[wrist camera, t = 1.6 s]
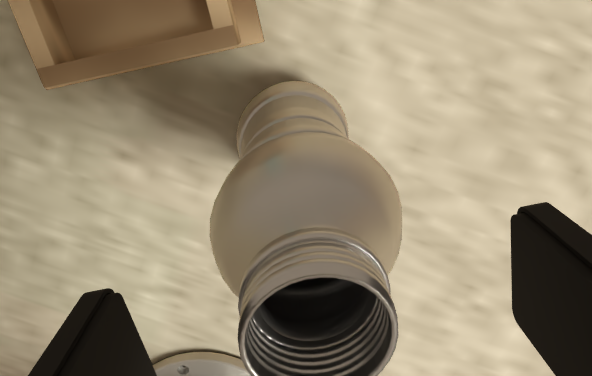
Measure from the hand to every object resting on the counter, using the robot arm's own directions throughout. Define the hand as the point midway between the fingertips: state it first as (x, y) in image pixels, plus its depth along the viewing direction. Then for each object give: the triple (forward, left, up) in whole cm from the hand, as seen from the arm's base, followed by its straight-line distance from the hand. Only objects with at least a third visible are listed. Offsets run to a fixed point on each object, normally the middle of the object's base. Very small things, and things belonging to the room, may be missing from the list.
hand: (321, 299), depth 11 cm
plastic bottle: (0, 0, -19) cm, 19 cm away
